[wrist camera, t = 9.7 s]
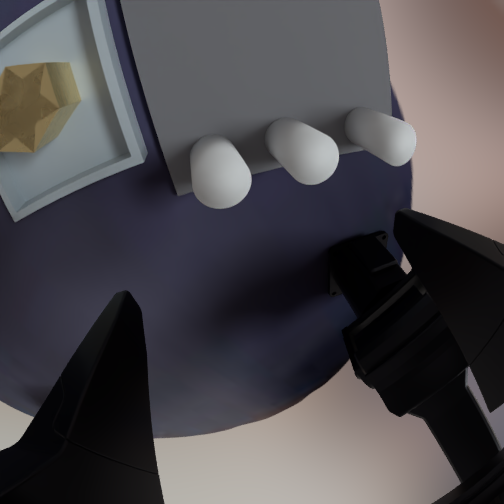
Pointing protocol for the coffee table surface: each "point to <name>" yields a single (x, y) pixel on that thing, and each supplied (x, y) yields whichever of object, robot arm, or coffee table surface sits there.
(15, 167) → the nut tray
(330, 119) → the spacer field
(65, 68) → the tan faceted polyhedron
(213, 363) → the coffee table surface
